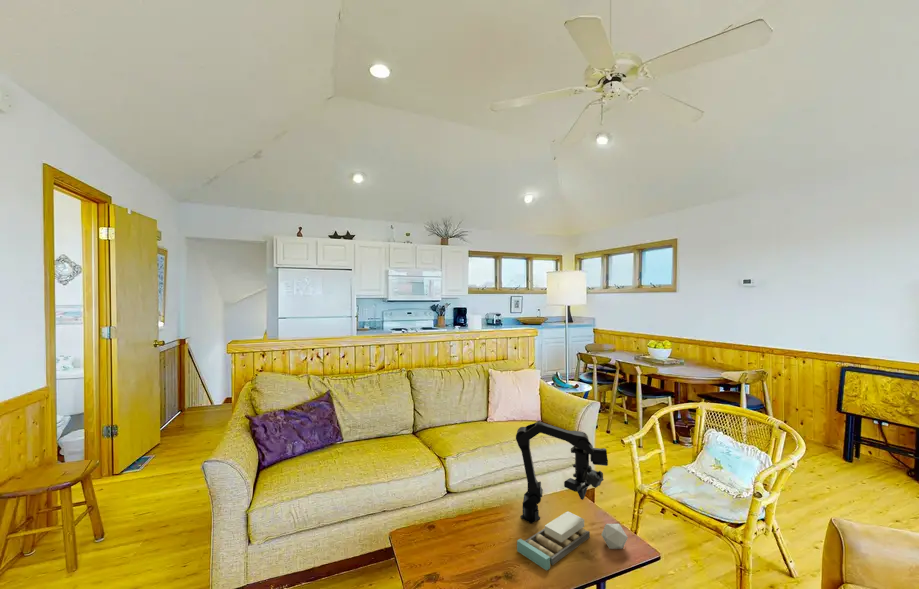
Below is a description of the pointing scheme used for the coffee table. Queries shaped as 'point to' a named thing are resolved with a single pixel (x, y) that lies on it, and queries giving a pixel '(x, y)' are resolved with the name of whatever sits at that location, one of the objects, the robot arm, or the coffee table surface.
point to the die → (614, 536)
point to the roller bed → (555, 547)
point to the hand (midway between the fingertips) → (582, 499)
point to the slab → (564, 526)
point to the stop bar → (533, 554)
